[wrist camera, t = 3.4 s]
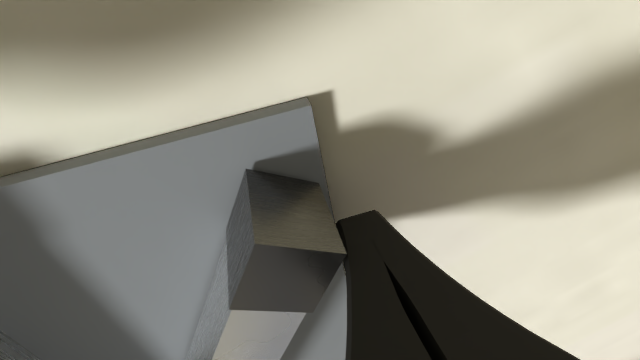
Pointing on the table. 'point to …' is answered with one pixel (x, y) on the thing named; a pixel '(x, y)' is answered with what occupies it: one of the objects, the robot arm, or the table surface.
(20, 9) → the table surface
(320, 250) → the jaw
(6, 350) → the tongs fixed
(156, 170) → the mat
